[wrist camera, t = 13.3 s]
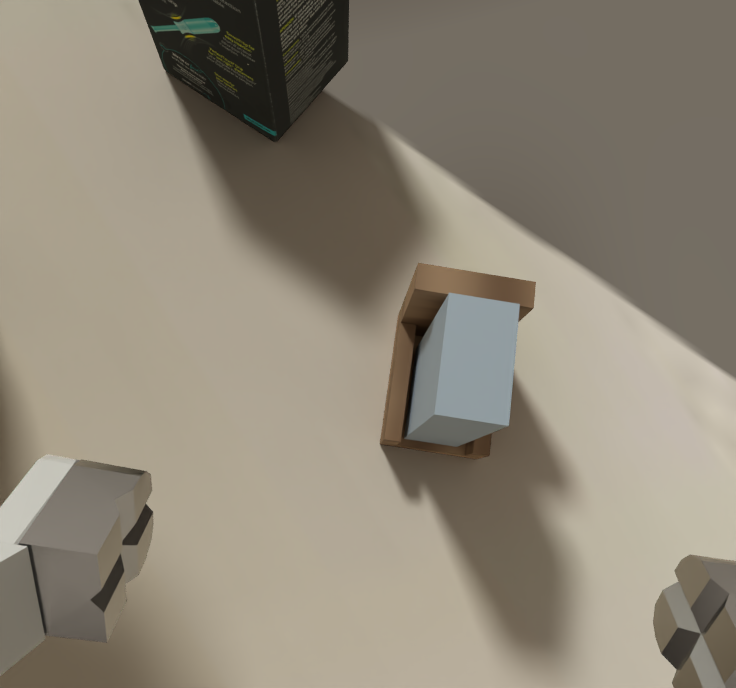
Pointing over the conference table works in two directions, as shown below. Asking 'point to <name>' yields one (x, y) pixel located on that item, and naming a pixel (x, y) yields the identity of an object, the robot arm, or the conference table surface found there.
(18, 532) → the robot arm
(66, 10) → the conference table surface
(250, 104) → the tampon box
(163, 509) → the conference table surface
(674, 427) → the conference table surface
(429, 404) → the blue-grey rectangular block
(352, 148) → the conference table surface
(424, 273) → the brown wooden holder
